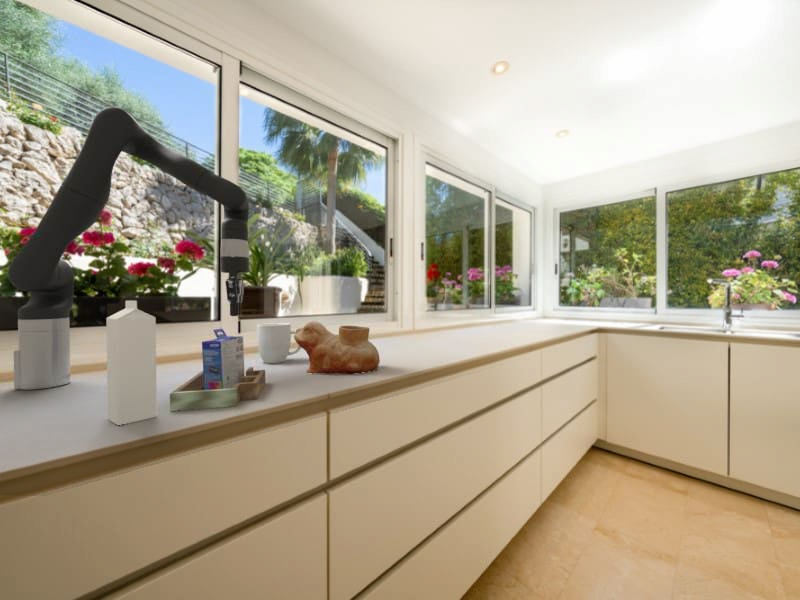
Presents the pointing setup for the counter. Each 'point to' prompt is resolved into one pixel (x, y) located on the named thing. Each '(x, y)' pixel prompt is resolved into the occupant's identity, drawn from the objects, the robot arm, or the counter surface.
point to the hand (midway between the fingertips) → (235, 315)
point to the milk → (131, 365)
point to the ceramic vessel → (337, 349)
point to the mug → (274, 342)
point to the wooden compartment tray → (216, 392)
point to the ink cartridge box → (222, 361)
